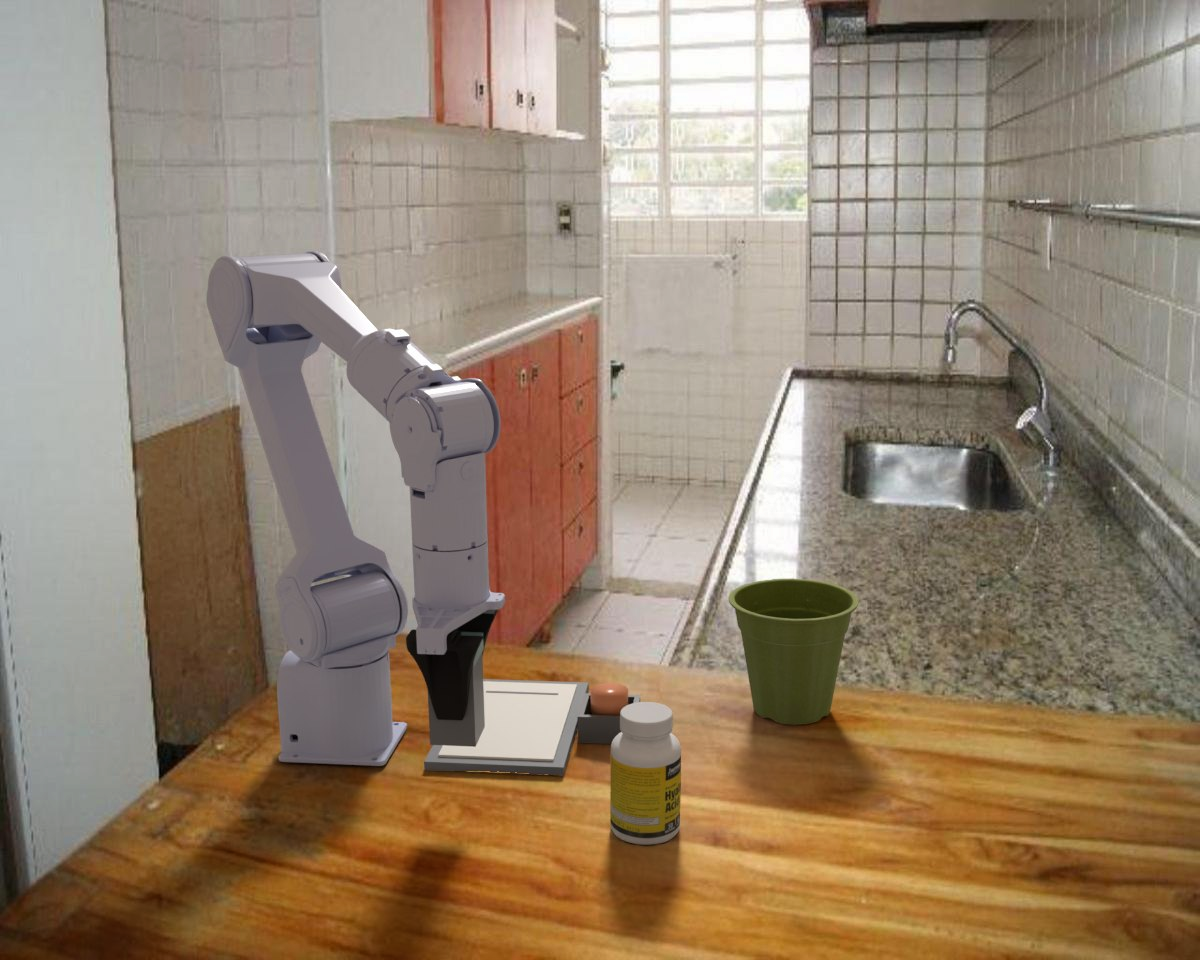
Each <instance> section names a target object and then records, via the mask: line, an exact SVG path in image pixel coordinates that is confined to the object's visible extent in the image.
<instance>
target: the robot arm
mask: <svg viewBox="0 0 1200 960" xmlns="http://www.w3.org/2000/svg"><path fill="white" fill-rule="evenodd" d="M340 275H341V274H340V271H339V268H338V266H337V265H336V264H334V263H332V262H331V261H330V260H329V259H328V256H326V255H325V254H324V253H322V252H320V251H316V250H312V251H306V252H305V253H292V254H291V253H290V254H273V255H272V254H271V255H253V256H233V255H222V256H220V257H219V258H218V259H216V260H215V262H214V264H213V266H212V268H211V269H210V272H209V275H208V279H207V289H206V298H205V299H206V307H207V309H208V313H209V316H210V319H211V322H212V325H213V326H212V327H213V328H214V331H215V335H216V338H217V342H218V344H219V347H220V349H221V352H222V355H223V359H224V361H226V362H227V363H228V364H231V365H233V366H235V367H237V368H238V372H239V376H240V379H241V383H242V385H243V387H244V392H245V394H246V397H247V401H248V403H249V407H250V410H251V413H252V417H253V420H254V423H255V426H256V430H257V433H258V435H259V438H260V441H261V444H262V448H263V451H264V454H265V457H266V461H267V463H268V466H269V470H270V472H271V473H270V474H271V475H272V480H273V482H274V485H275V489H276V492H277V495H278V497H279V501H280V502H279V503H280V504H281V507H282V511H283V514H284V517H285V520H286V524H287V526H288V530H289V533H290V536H291V539H292V543H293V545H294V550H295V554H294V556H293V557H292V558H291V560H290V561H289V562H288V564H287V565H286V566H285V568H284V570H282V572H281V573H280V575H279V576H278V579H277V581H276V582H275V585H274V587H275V592H276V595H277V600H278V607H279V625H280V630H281V633H282V637H283V639H284V641H285V643H286V645H287V647H288V648H289V649H290V650H287V652H286V653H285V654H284V656H283V657H282V659H281V662H280V665H279V669H278V673H277V681H276V683H277V684H276V698H277V711H278V725H279V737H280V748H281V750H280V751H281V752H280V754H279V755H278V760H279V762H281V763H296V764H297V763H299V764H300V763H301V764H322V765H323V764H326V765H347V766H352V765H353V766H372V767H374V766H375V767H381V766H384V765H386V764H387V762H388V760H389V759H390V757H391V756H392V754H393V752H394V751H395V749H396V747H397V745H398V744H399V742H400V741H401V739H402V738H403V735H404V734H405V733H406V730H407V729H408V723H406V722H404V721H393V720H394V719H393V701H392V684H391V681H392V680H391V668H390V667H391V664H390V650H391V649H393V648H396V647H397V640H396V636H398V635H400V634H401V633H402V632H403V631H404V629H405V627H406V625H407V620H408V615H409V603H408V602H409V601H408V597H407V593H406V591H405V589H404V586H403V584H402V583H401V581H400V580H399V578H398V577H397V576H396V574H395V573H394V571H393V569H392V568H391V565H390V563H389V561H388V558H387V556H386V555H387V554H386V553H385V550H383V549H382V548H380V547H378V546H375V545H374V544H372V543H370V542H367V541H366V540H364V539H362V538H360V537H358V536H357V535H355V534H354V530H353V527H352V524H351V521H350V518H349V515H348V512H347V508H346V506H345V502H344V499H343V496H342V493H341V490H340V487H339V483H338V479H337V478H336V475H335V471H334V468H333V466H332V465H333V464H332V462H331V459H330V457H329V456H330V455H329V453H328V449H327V447H326V443H325V441H324V437H323V435H322V431H321V428H320V425H319V421H318V420H317V416H316V413H315V410H314V406H313V403H312V400H311V397H310V393H309V392H308V387H307V385H306V381H305V379H304V375H303V372H302V371H303V370H302V367H303V364H304V361H305V360H306V359H307V358H309V357H310V356H312V355H314V354H315V353H317V352H318V350H319V348H320V346H321V343H322V344H324V345H325V346H326V347H327V348H328V349H330V351H333V352H334V353H335V354H336V355H338V356H339V357H340V358H341V359H343V360H344V361H345V362H346V368H345V369H346V377H347V380H348V382H349V384H350V386H351V387H352V388H353V389H355V391H356V392H357V393H358V394H360V395H361V397H362V398H363V399H365V400H366V402H368V403H369V405H371V406H372V407H373V408H374V410H376V411H377V412H378V413H379V414H380V415H381V416H382V417H383V418H385V420H386V422H388V423H389V425H388V426H389V432H390V436H391V441H392V443H393V446H394V448H395V449H394V450H395V451H396V453H397V455H398V458H399V462H400V467H401V469H400V470H401V471H400V472H401V478H402V479H403V483H404V485H405V486H407V487H409V498H410V499H409V500H410V518H411V519H410V521H411V525H410V526H411V541H412V544H411V545H412V546H411V547H412V548H411V549H412V564H413V567H412V568H413V584H414V585H413V587H414V595H412V609H413V614H414V616H415V620H416V623H417V627H416V628H415V629H411V630H410V631H409V633H408V634H407V636H406V637H405V644H406V650H407V652H408V653H409V654H410V656H412V658H413V660H414V662H415V663H416V664H417V666H418V668H419V670H420V672H421V675H422V677H423V679H424V682H425V685H426V688H427V693H428V692H429V695H430V699H431V702H432V706H433V709H434V712H435V715H436V717H437V719H438V720H460V721H461V720H463V718H464V716H465V713H466V709H467V703H468V696H469V685H470V677H471V671H472V666H473V663H474V659H475V656H476V653H477V650H478V648H479V646H480V644H481V641H482V639H483V643H484V650H483V651H482V658H484V657H483V656H484V651H485V647H486V644H487V640H488V636H489V633H490V629H491V627H492V625H493V623H494V620H495V618H496V616H497V613H498V611H499V610H501V609H502V608H503V607H504V605H505V604H506V595H505V594H504V593H503V592H492V591H491V589H490V573H489V542H488V541H489V539H488V538H489V537H488V513H487V512H488V509H487V507H488V506H487V477H486V476H487V473H486V470H487V469H486V454H488V453H490V452H491V451H493V449H494V448H495V447H496V445H497V443H498V441H499V438H500V434H501V428H502V427H501V425H502V424H501V423H502V419H501V414H500V409H499V406H498V403H497V401H496V399H495V396H494V394H493V393H492V391H491V390H490V389H489V388H488V387H487V386H486V385H485V382H483V381H482V380H481V379H479V378H477V377H476V378H475V377H469V378H460V377H459V376H457V375H455V376H451V375H450V374H448V373H447V372H446V371H445V370H444V368H442V367H441V365H439V364H438V363H436V362H435V361H434V360H433V359H432V358H430V356H428V355H427V354H426V353H425V352H424V351H423V350H421V349H420V348H419V347H418V346H417V345H416V344H414V343H413V342H412V341H411V337H412V336H411V335H410V334H408V332H406V331H405V330H404V329H402V328H400V329H393V328H382V329H378V328H377V327H375V325H374V324H373V323H372V322H371V321H370V319H368V317H367V316H366V315H365V314H364V313H363V312H362V311H361V310H360V309H359V307H358V306H357V305H356V304H355V303H354V302H353V301H352V300H351V299H350V297H349V296H348V295H347V294H346V293H345V292H344V291H343V289H342V281H341V276H340ZM346 575H347V577H346ZM340 576H345V577H343V578H342V577H341V578H339V579H338V577H340ZM332 578H337V579H336V580H331V581H327V582H323V583H320V584H316V585H312V584H314V583H317V582H318V583H319V582H321V581H325V580H329V579H332ZM461 632H483V636H467V635H461Z"/></svg>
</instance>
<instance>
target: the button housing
mask: <svg viewBox="0 0 1200 960" xmlns="http://www.w3.org/2000/svg"><path fill="white" fill-rule="evenodd" d="M637 702H641V694H628V705H629V704H632V703H637ZM577 719H578V728H577V743H581V744H601V745H603V744H605V745H611V744H612V741H613V739H614V738H615V737H616V736H617V735H618V734H619V733H620V732H621V730H620V716H610V715H593V714H592V713H591V692H588V693H584V696H583V700H582V703H581V706H580V710H579V713H578V717H577Z"/></svg>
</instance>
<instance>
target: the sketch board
mask: <svg viewBox="0 0 1200 960" xmlns="http://www.w3.org/2000/svg"><path fill="white" fill-rule="evenodd" d="M483 688H484V718H485V727H484V729H483V732H482V734H481V736H480V738H479V740H478V743H477V745H476V747H471V746H447V745H431V748H430V750H429V752H428V753H427V755H426V758H425V759H424V762H423V767H424V769H423V770H424V771H433V772H435V771H437V772H454V771H490V772H497V771H499V772H510V773H515V772H517V773H529V774H542V775H541V776H545V775H544V774H548V775H547V776H549V775H560V776H559V777H564V776H565V773H566V769H567V766H568V763H569V759H570V756H569V755H571V753H570V752H571V751H572V749H573V745H574V742H575V738H576V735H577V733H578V719H577V717H578V713H579V710H580V706H581V703H582V700H583V696H584V693H589V682H581V681H580V682H579V681H552V680H551V681H549V680H527V679H526V680H523V679H522V680H521V679H498V678H497V679H496V678H495V679H492V678H489V679H488V678H483ZM567 762H568V763H567Z"/></svg>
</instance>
